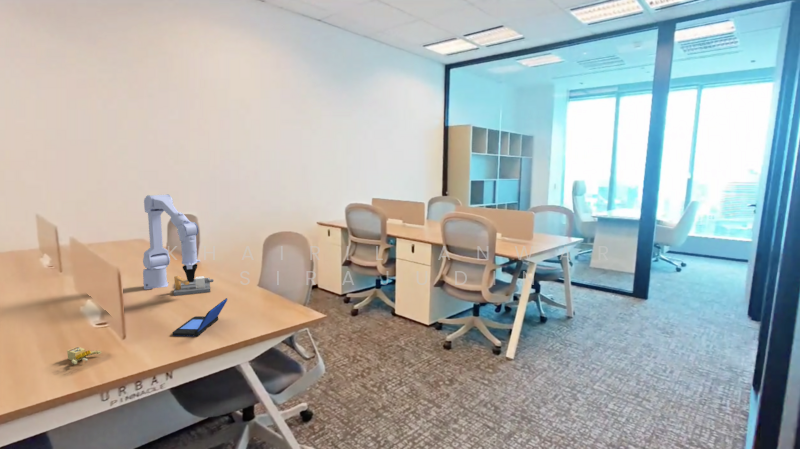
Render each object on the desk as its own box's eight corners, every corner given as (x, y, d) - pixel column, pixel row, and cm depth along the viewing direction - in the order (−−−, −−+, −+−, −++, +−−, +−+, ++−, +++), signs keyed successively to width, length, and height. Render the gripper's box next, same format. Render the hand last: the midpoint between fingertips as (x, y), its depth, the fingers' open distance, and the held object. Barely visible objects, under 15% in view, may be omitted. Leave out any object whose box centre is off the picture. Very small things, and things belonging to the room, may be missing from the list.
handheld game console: (194, 319, 154) (193, 296, 153) (229, 320, 154) (228, 297, 153) (170, 336, 139) (169, 310, 138) (209, 338, 139) (208, 311, 137)
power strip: (173, 296, 179) (173, 292, 179) (175, 291, 187) (174, 286, 187) (210, 293, 185) (210, 288, 185) (210, 287, 193) (209, 283, 193)
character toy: (75, 357, 116) (57, 352, 118) (76, 368, 116) (58, 363, 119) (104, 346, 123) (87, 341, 126) (105, 356, 123) (88, 351, 126)
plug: (196, 291, 185) (195, 278, 184) (196, 289, 188) (195, 276, 187) (214, 289, 188) (213, 277, 187) (213, 287, 191) (213, 275, 191)
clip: (174, 289, 183) (173, 276, 182) (180, 287, 185) (179, 275, 184) (185, 295, 174) (184, 282, 173) (191, 294, 176) (190, 281, 175)
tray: (176, 289, 190) (176, 285, 190) (177, 284, 197) (177, 280, 197) (209, 285, 196) (209, 281, 196) (209, 281, 203) (209, 277, 203)
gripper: (199, 253, 171) (201, 285, 173) (199, 247, 184) (201, 276, 185) (180, 254, 168) (182, 287, 170) (181, 248, 181) (183, 278, 182)
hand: (190, 281), depth 177 cm, fingers closed
